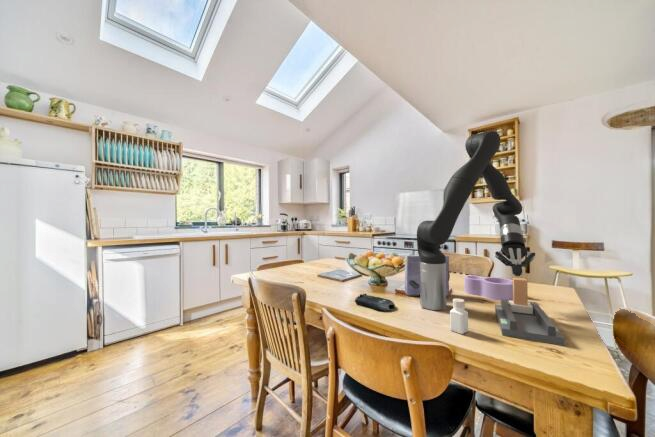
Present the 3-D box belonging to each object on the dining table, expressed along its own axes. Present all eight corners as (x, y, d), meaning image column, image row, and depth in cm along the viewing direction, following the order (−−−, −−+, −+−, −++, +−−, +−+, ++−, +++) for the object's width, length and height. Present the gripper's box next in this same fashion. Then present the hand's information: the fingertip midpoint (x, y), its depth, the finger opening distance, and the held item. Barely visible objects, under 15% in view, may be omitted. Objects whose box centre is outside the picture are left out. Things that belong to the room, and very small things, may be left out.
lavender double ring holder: (461, 294, 115) (461, 279, 115) (469, 288, 124) (469, 273, 124) (517, 304, 102) (517, 286, 101) (521, 296, 111) (520, 280, 111)
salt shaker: (462, 335, 77) (461, 303, 76) (449, 330, 80) (448, 299, 80) (469, 331, 79) (468, 300, 79) (456, 327, 82) (455, 297, 82)
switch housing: (494, 310, 95) (494, 297, 95) (543, 316, 89) (543, 303, 89) (502, 335, 76) (502, 319, 76) (565, 345, 69) (564, 328, 69)
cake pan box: (448, 293, 117) (447, 254, 117) (452, 296, 112) (451, 255, 112) (404, 292, 119) (403, 254, 118) (406, 296, 114) (406, 256, 113)
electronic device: (353, 309, 104) (387, 312, 94) (353, 295, 105) (386, 297, 95) (366, 306, 111) (399, 309, 101) (365, 292, 112) (397, 294, 102)
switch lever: (508, 306, 92) (508, 276, 92) (529, 309, 89) (529, 278, 89) (510, 311, 88) (510, 279, 88) (533, 314, 85) (532, 281, 85)
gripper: (492, 231, 104) (496, 268, 94) (533, 231, 98) (543, 270, 88) (491, 243, 109) (495, 279, 99) (531, 243, 103) (539, 282, 92)
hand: (517, 275), depth 93 cm, fingers closed
